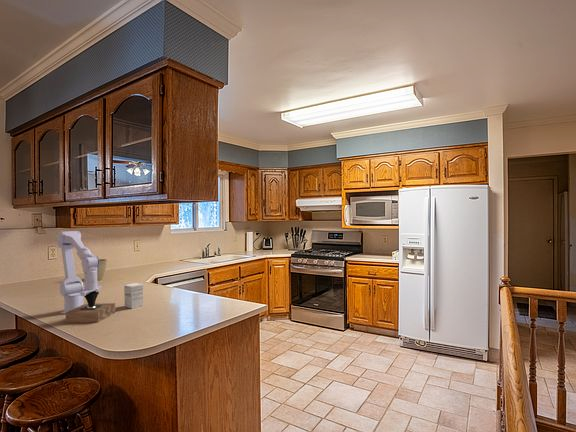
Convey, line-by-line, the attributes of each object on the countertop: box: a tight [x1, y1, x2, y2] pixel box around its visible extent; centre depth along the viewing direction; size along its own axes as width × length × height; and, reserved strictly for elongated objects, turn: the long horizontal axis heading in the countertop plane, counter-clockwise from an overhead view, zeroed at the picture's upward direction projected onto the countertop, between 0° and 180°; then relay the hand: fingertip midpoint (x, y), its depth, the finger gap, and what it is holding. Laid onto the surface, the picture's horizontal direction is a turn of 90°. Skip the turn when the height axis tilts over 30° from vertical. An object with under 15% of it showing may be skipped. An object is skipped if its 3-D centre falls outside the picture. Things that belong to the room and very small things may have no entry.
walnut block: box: [65, 302, 116, 324], centre depth 170 cm, size 16×16×6 cm
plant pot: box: [97, 258, 108, 282], centre depth 269 cm, size 15×15×16 cm
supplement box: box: [124, 282, 144, 310], centre depth 189 cm, size 7×7×13 cm
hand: (91, 306), depth 170 cm, fingers closed, pressing on steel peg
